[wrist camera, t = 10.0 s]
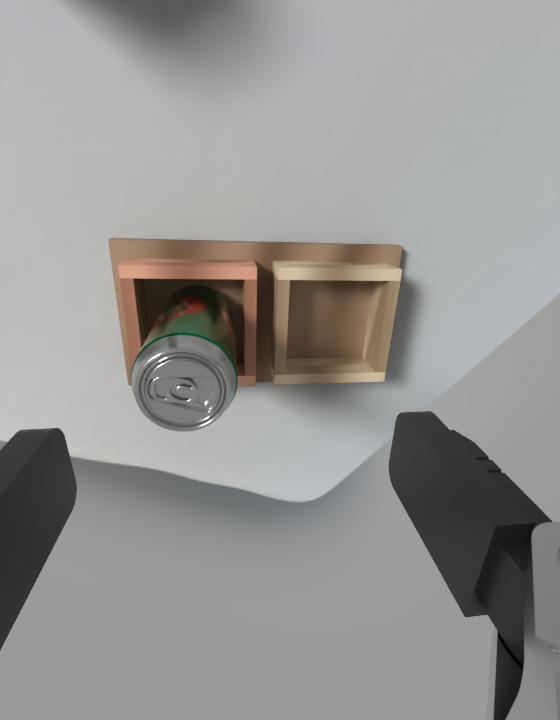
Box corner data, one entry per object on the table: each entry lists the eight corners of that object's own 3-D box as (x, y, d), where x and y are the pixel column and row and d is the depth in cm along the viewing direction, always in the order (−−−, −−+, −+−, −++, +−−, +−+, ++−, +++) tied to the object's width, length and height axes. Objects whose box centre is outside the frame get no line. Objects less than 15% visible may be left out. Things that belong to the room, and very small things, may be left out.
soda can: (227, 352, 29) (229, 443, 18) (161, 342, 28) (121, 433, 17) (238, 290, 28) (247, 350, 17) (167, 277, 26) (128, 332, 16)
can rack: (397, 244, 29) (422, 251, 25) (377, 373, 33) (396, 394, 30) (112, 238, 26) (94, 244, 22) (131, 379, 30) (118, 404, 27)
